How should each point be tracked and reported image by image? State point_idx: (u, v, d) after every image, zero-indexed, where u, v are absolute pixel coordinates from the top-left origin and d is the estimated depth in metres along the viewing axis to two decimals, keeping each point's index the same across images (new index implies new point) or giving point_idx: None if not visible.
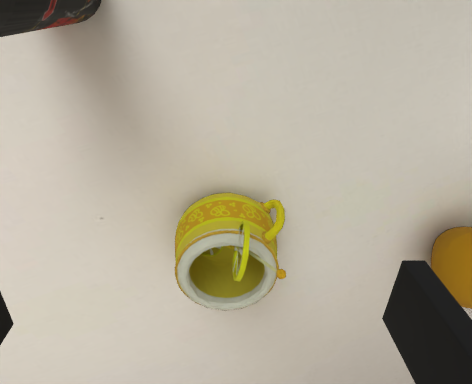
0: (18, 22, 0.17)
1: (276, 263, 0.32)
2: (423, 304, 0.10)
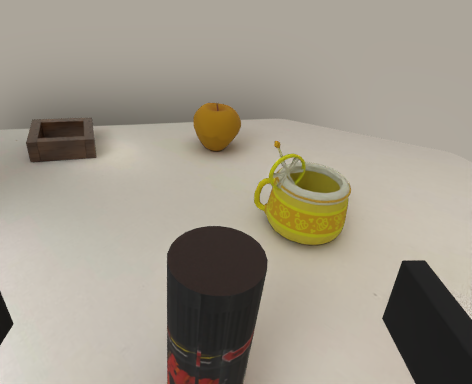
0: None
1: None
2: (422, 304, 0.10)
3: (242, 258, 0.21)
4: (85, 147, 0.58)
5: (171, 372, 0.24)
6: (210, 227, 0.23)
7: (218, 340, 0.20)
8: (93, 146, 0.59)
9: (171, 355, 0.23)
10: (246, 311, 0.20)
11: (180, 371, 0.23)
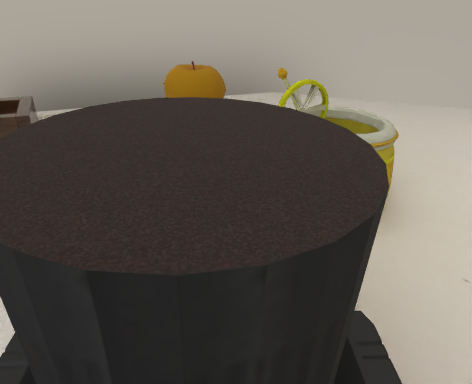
0: None
1: None
2: None
3: (279, 143, 0.06)
4: (18, 127, 0.43)
5: None
6: (167, 98, 0.08)
7: None
8: None
9: None
10: (331, 340, 0.05)
11: None
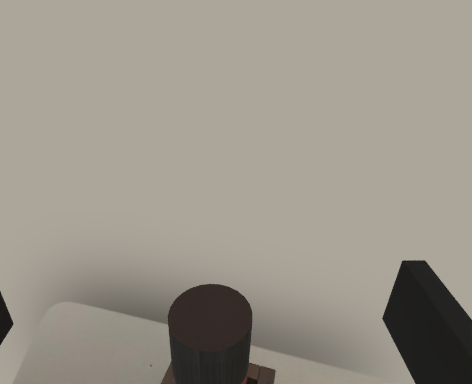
0: None
1: None
2: (422, 304, 0.10)
3: (231, 313, 0.25)
4: None
5: None
6: (202, 285, 0.27)
7: None
8: None
9: None
10: (238, 358, 0.24)
11: None
